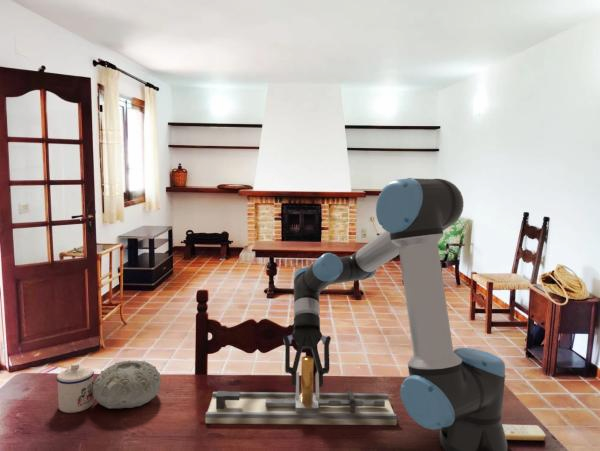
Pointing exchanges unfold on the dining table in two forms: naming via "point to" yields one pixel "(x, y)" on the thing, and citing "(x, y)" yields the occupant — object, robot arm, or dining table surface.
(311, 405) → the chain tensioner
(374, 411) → the rail
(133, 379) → the grey rounded lump
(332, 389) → the dining table surface
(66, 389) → the teacup with lid
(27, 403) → the dining table surface
